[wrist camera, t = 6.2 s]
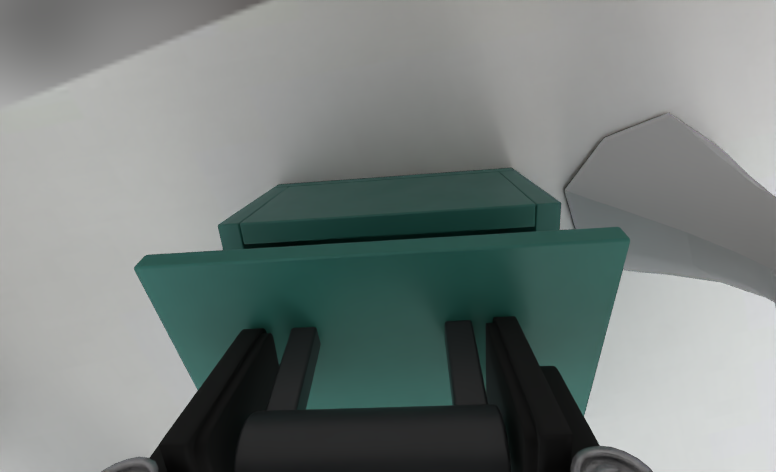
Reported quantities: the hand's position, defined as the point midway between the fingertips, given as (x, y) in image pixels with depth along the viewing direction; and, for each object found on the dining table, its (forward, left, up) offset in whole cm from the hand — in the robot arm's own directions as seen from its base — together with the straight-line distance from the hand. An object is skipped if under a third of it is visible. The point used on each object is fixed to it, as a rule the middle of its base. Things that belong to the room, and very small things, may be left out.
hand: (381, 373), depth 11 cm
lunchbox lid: (+4, 0, -2) cm, 5 cm away
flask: (-1, +12, -11) cm, 16 cm away
